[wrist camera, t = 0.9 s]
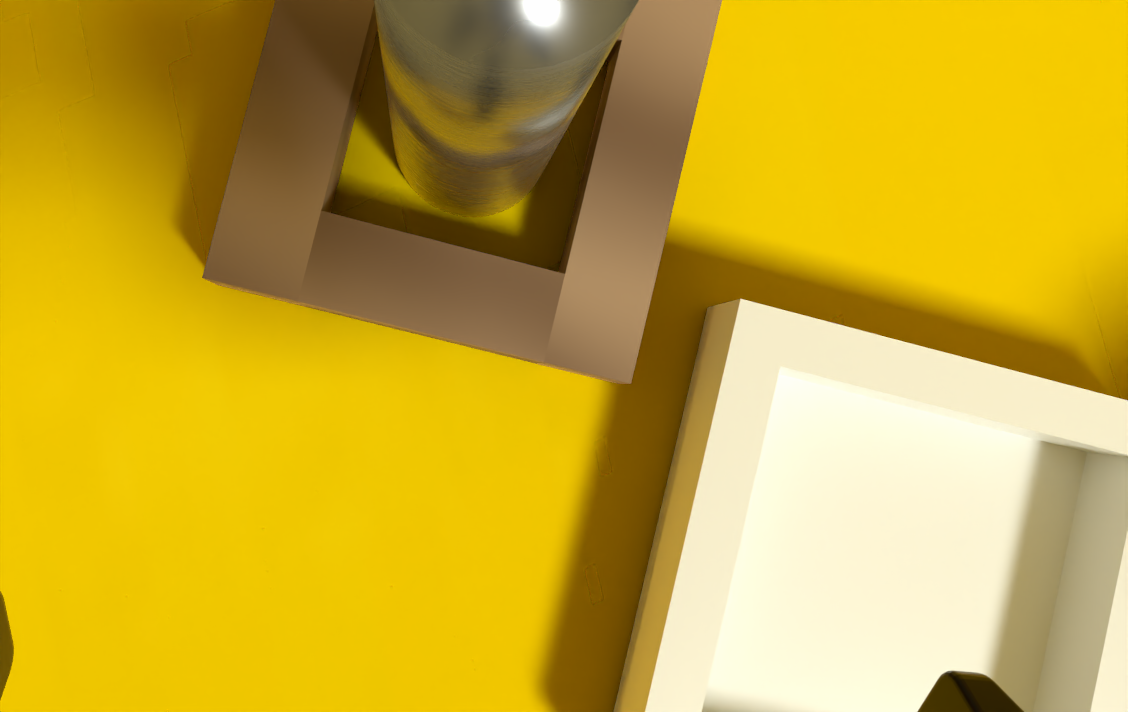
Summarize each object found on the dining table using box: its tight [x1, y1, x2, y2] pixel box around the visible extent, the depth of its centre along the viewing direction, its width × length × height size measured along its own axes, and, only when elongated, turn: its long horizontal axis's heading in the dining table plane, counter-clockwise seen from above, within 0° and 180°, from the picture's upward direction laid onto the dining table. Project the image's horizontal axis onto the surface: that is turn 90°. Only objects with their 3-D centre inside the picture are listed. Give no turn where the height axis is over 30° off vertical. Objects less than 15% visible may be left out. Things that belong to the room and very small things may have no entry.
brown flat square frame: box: [202, 0, 722, 384], centre depth 22 cm, size 9×9×2 cm
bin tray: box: [613, 299, 1128, 712], centre depth 23 cm, size 11×11×2 cm
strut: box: [374, 0, 639, 217], centre depth 18 cm, size 4×4×11 cm
